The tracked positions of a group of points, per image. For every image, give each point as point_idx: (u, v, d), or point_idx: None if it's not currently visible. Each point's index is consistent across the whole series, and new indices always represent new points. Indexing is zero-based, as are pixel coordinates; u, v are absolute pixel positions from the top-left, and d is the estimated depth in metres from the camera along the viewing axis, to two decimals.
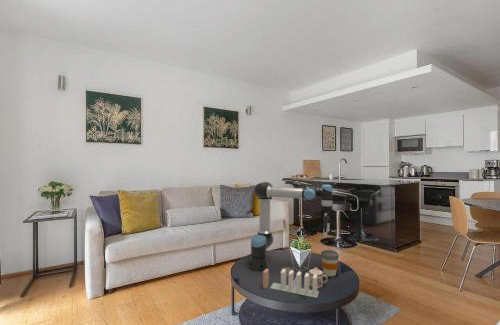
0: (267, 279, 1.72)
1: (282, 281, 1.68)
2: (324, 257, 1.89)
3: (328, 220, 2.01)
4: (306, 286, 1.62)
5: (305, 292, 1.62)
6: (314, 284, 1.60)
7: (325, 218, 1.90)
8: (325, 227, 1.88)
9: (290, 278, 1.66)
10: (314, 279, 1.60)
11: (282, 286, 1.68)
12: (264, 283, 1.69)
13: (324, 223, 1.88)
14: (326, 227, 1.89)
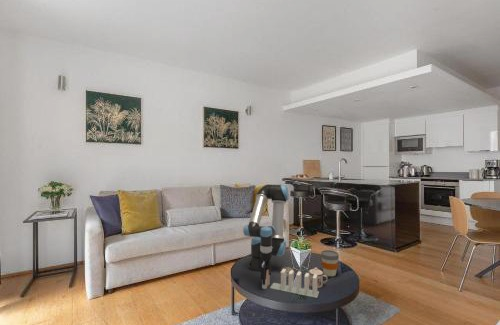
0: (267, 279, 1.72)
1: (282, 281, 1.68)
2: (324, 257, 1.89)
3: None
4: (306, 286, 1.62)
5: (305, 292, 1.62)
6: (314, 284, 1.60)
7: (262, 270, 1.66)
8: None
9: (290, 278, 1.66)
10: (314, 279, 1.60)
11: (282, 286, 1.68)
12: None
13: (262, 276, 1.66)
14: (264, 279, 1.68)
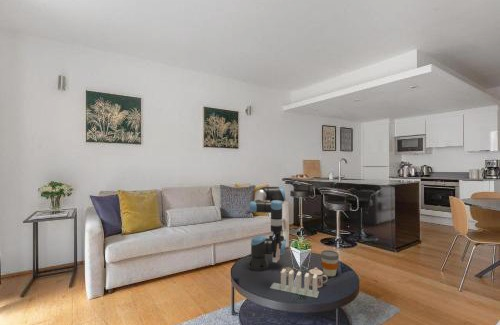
0: (277, 252, 1.72)
1: (282, 281, 1.68)
2: (324, 257, 1.89)
3: None
4: (306, 286, 1.62)
5: (305, 292, 1.62)
6: (314, 284, 1.60)
7: (273, 242, 1.66)
8: (274, 252, 1.67)
9: (290, 278, 1.66)
10: (314, 279, 1.60)
11: (282, 286, 1.68)
12: None
13: (272, 248, 1.66)
14: (275, 252, 1.68)
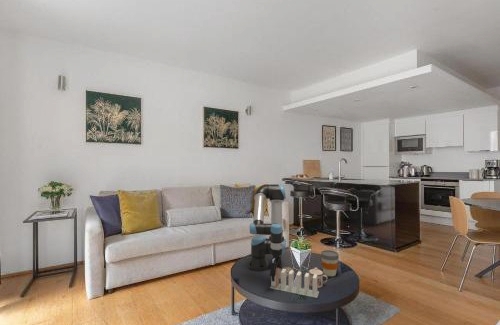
0: (277, 278, 1.72)
1: (282, 281, 1.68)
2: (324, 257, 1.89)
3: (279, 265, 1.76)
4: (306, 286, 1.62)
5: (305, 292, 1.62)
6: (314, 284, 1.60)
7: (272, 265, 1.66)
8: (272, 276, 1.65)
9: (290, 278, 1.66)
10: (314, 279, 1.60)
11: (282, 286, 1.68)
12: None
13: (271, 272, 1.65)
14: (274, 276, 1.66)
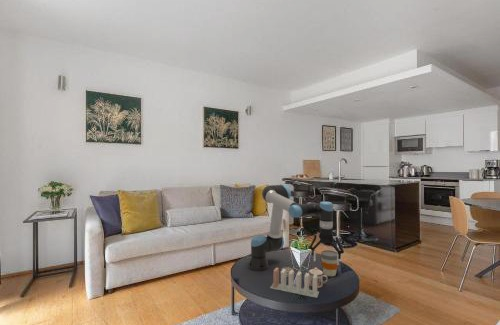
0: (277, 278, 1.72)
1: (282, 281, 1.68)
2: (324, 257, 1.89)
3: (335, 249, 1.57)
4: (306, 286, 1.62)
5: (305, 292, 1.62)
6: (314, 284, 1.60)
7: (313, 239, 1.62)
8: (311, 249, 1.63)
9: (290, 278, 1.66)
10: (314, 279, 1.60)
11: (282, 286, 1.68)
12: (274, 282, 1.70)
13: None
14: (312, 249, 1.62)
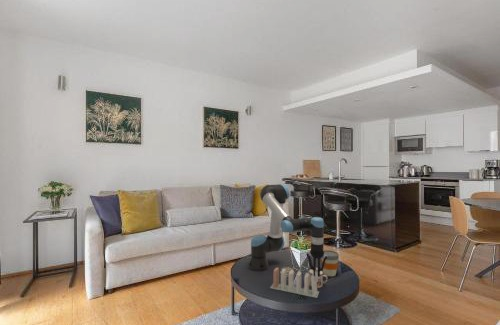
0: (277, 278, 1.72)
1: (282, 281, 1.68)
2: None
3: None
4: (306, 286, 1.62)
5: (305, 292, 1.62)
6: (313, 284, 1.60)
7: None
8: None
9: (290, 278, 1.66)
10: (312, 279, 1.60)
11: (282, 286, 1.68)
12: (274, 282, 1.70)
13: None
14: (314, 270, 1.62)
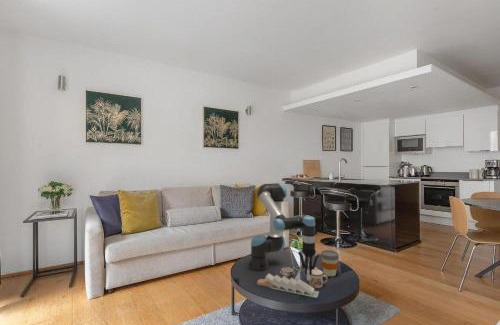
0: (266, 281, 1.75)
1: (273, 282, 1.70)
2: (324, 257, 1.89)
3: None
4: (297, 287, 1.64)
5: (302, 291, 1.63)
6: (301, 287, 1.63)
7: None
8: (304, 267, 1.65)
9: (277, 281, 1.69)
10: (297, 284, 1.64)
11: (277, 285, 1.69)
12: (267, 285, 1.72)
13: None
14: (305, 269, 1.64)
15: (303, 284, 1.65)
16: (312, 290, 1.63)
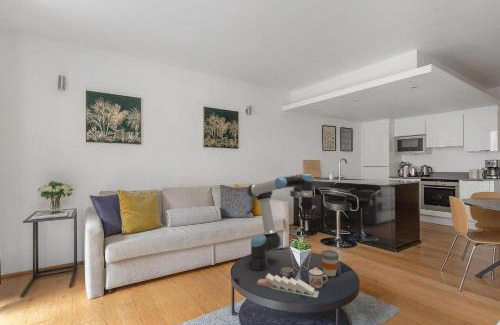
0: (266, 281, 1.75)
1: (273, 282, 1.70)
2: (324, 257, 1.89)
3: None
4: (297, 287, 1.64)
5: (302, 291, 1.63)
6: (301, 287, 1.63)
7: None
8: (303, 219, 1.84)
9: (277, 281, 1.69)
10: (297, 284, 1.64)
11: (277, 285, 1.69)
12: (267, 285, 1.72)
13: None
14: (304, 220, 1.83)
15: (303, 284, 1.65)
16: (312, 290, 1.63)
